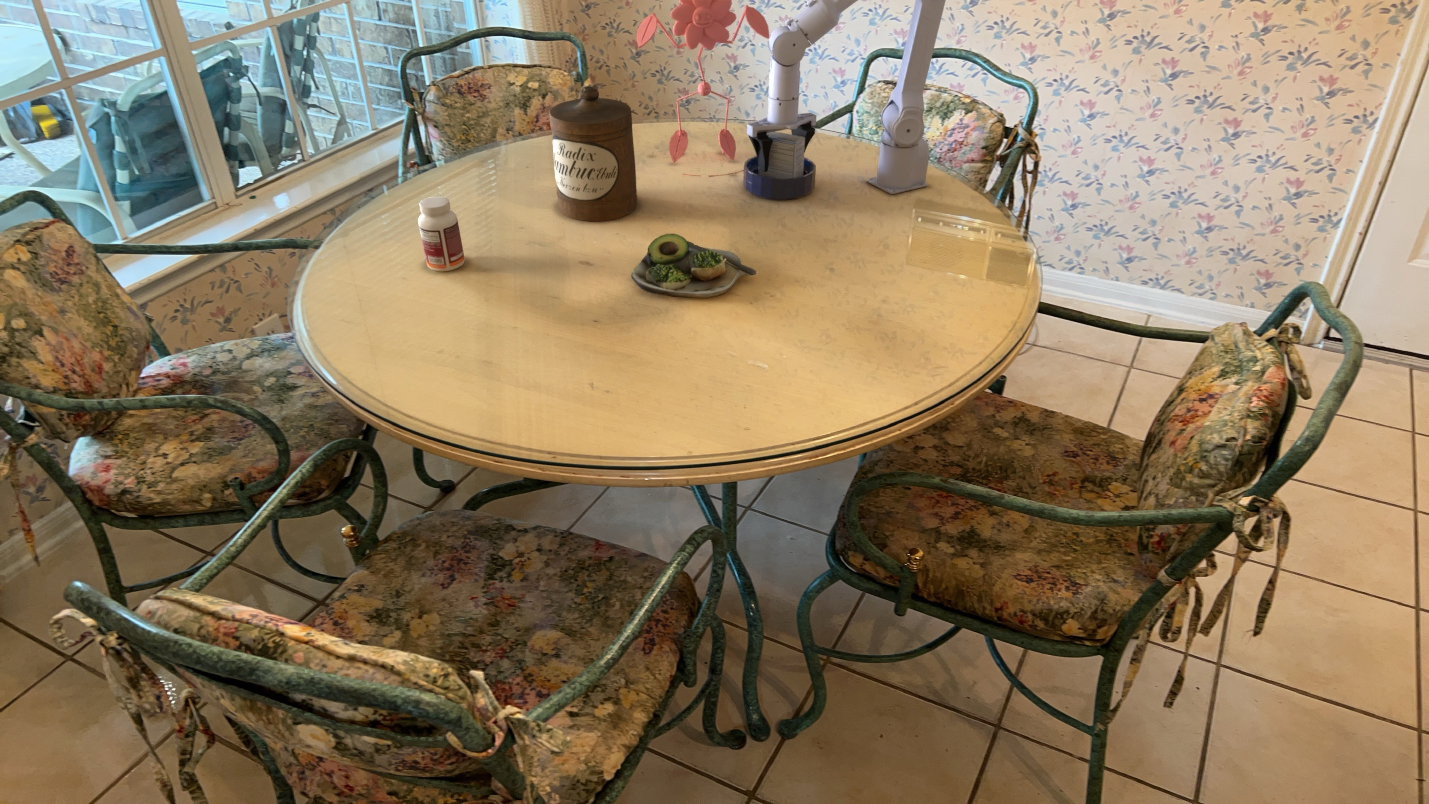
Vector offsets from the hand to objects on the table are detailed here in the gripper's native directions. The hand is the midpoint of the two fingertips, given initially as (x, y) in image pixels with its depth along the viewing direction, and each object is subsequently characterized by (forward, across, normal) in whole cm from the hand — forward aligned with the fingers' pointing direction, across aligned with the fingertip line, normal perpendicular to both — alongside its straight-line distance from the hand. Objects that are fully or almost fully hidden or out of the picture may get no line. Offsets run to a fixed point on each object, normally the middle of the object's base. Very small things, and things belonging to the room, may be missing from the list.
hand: (780, 166), depth 176 cm
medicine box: (+3, 0, 0) cm, 3 cm away
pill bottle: (+4, -67, -1) cm, 67 cm away
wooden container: (+4, -35, +9) cm, 36 cm away
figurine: (+4, -7, +18) cm, 20 cm away
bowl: (+4, 0, 0) cm, 4 cm away
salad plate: (+4, -34, -24) cm, 42 cm away
